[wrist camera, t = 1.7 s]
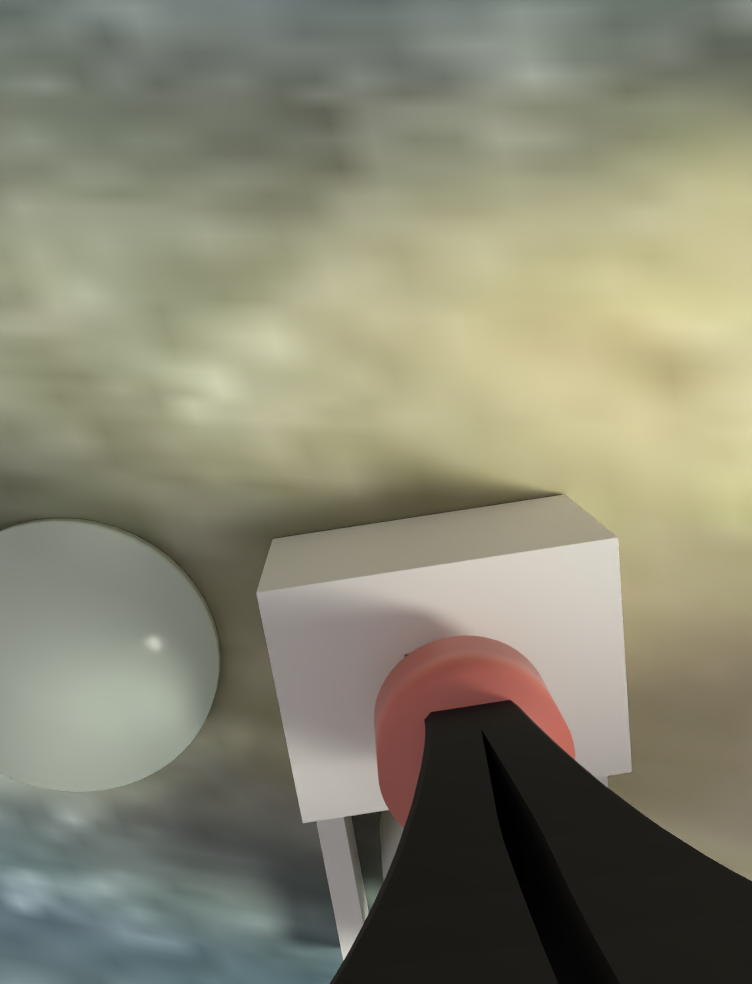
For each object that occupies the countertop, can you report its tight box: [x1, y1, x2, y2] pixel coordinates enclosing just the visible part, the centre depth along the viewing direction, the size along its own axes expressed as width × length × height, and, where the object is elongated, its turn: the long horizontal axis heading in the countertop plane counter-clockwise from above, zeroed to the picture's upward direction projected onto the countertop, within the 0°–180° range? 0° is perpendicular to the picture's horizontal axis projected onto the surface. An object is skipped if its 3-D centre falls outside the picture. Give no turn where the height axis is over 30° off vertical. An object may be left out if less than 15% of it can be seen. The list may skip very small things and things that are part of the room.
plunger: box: [374, 635, 575, 827], centre depth 12 cm, size 3×3×4 cm
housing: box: [256, 494, 632, 961], centre depth 15 cm, size 11×6×3 cm, turn 8°
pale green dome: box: [0, 518, 220, 792], centre depth 15 cm, size 6×6×1 cm
